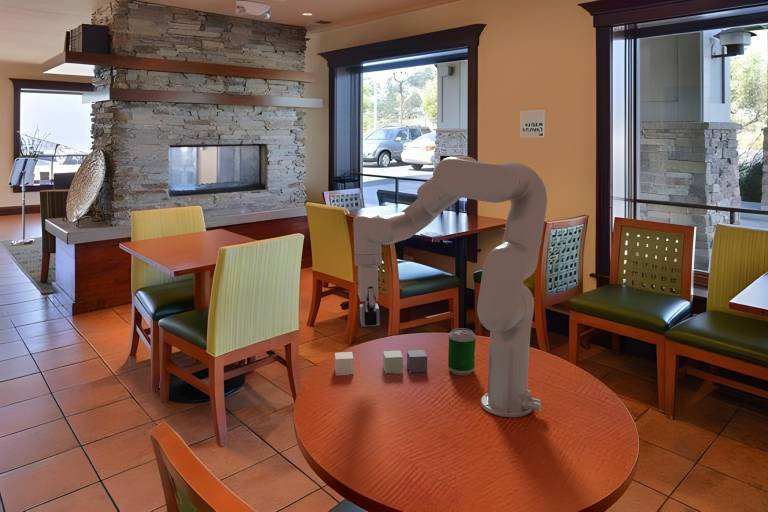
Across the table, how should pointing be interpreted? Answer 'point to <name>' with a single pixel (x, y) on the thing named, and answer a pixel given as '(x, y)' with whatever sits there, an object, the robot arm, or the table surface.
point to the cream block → (344, 363)
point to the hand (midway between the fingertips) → (369, 321)
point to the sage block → (392, 361)
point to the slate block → (362, 315)
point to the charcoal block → (417, 361)
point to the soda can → (461, 351)
